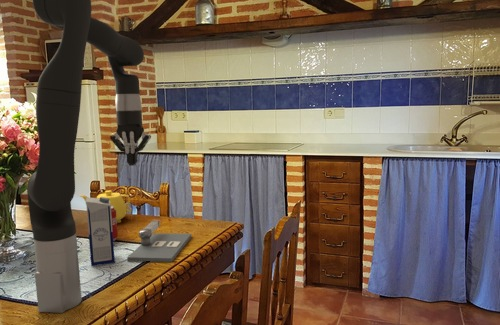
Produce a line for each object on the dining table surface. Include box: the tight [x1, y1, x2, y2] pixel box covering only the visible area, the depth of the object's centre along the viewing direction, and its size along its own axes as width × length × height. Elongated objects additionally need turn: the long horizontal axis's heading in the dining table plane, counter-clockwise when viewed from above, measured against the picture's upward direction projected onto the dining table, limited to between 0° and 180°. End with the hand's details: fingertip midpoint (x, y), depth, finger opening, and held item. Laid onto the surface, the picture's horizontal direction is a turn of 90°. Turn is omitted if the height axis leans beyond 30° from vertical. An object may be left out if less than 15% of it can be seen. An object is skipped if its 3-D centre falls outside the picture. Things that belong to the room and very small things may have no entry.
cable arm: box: [138, 219, 162, 239], centre depth 145 cm, size 4×15×2 cm, turn 175°
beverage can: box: [111, 206, 119, 242], centre depth 148 cm, size 6×6×12 cm
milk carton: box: [85, 196, 116, 267], centre depth 128 cm, size 7×7×20 cm
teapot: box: [78, 189, 132, 224], centre depth 173 cm, size 14×20×13 cm
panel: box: [126, 232, 193, 263], centre depth 139 cm, size 24×14×4 cm, turn 173°
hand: (132, 165), depth 130 cm, fingers closed
